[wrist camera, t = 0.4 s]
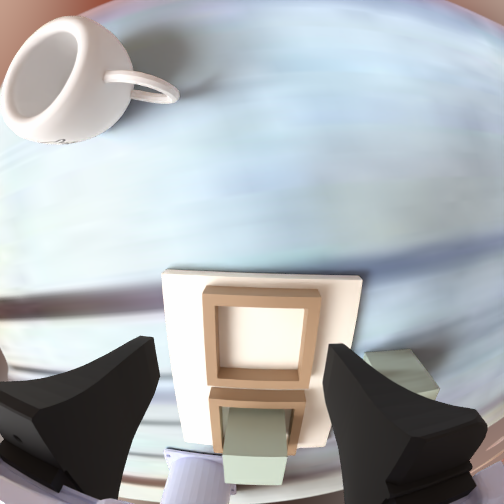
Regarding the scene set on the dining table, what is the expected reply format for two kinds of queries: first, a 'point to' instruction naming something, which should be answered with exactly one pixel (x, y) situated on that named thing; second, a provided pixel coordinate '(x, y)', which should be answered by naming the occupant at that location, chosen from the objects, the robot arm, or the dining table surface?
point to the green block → (404, 371)
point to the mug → (73, 83)
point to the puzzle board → (255, 362)
